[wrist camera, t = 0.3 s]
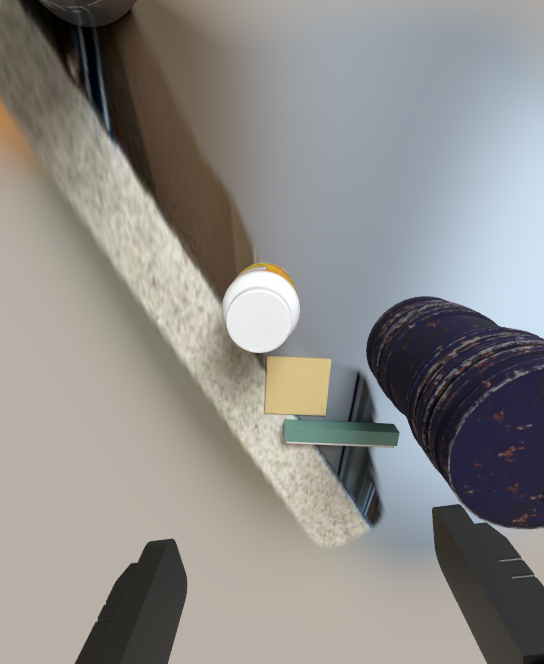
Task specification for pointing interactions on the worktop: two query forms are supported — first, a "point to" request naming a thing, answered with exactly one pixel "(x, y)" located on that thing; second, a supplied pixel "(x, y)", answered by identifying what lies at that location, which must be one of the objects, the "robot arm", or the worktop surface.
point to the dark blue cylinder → (469, 403)
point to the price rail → (340, 433)
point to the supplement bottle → (261, 308)
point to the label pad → (297, 385)
